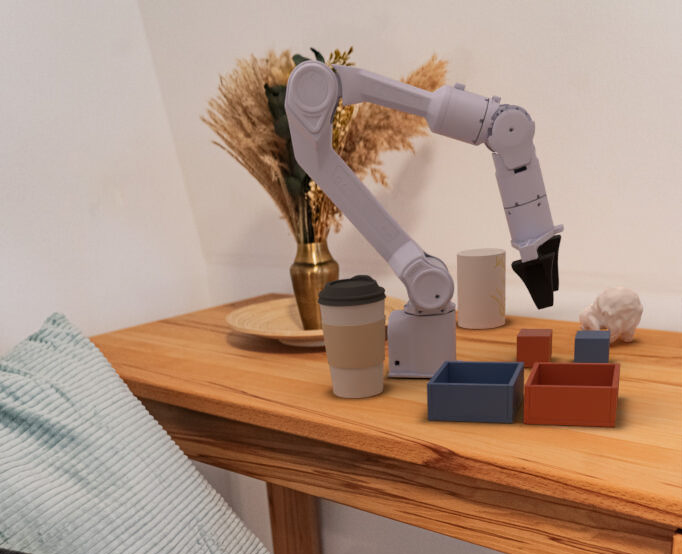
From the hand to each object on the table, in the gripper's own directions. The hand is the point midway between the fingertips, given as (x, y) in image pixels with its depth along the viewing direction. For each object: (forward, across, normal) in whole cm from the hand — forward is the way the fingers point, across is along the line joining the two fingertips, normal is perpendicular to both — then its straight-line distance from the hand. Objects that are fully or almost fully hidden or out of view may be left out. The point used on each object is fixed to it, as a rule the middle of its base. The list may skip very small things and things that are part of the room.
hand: (548, 299), depth 116 cm
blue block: (+10, -1, -4) cm, 11 cm away
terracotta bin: (+9, -21, -3) cm, 23 cm away
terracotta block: (+8, 0, +4) cm, 9 cm away
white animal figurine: (+12, +14, -4) cm, 19 cm away
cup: (+8, +25, +16) cm, 30 cm away
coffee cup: (+2, -15, +25) cm, 30 cm away
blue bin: (+6, -21, +8) cm, 24 cm away
